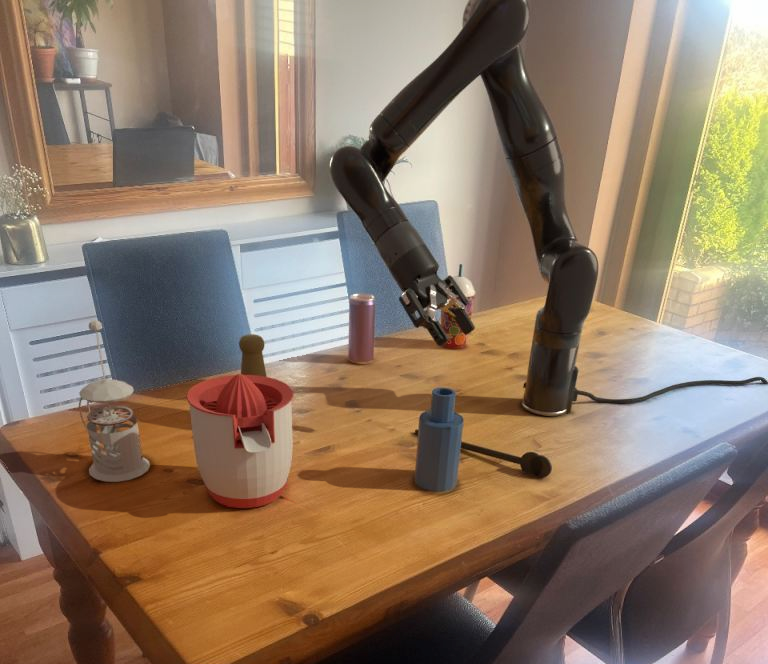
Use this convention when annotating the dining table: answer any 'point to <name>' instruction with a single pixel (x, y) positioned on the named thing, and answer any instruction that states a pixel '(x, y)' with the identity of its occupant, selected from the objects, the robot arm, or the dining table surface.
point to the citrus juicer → (242, 437)
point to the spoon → (515, 459)
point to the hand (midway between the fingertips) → (457, 337)
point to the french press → (112, 429)
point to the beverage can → (361, 328)
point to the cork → (252, 355)
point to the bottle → (439, 443)
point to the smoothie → (448, 321)
